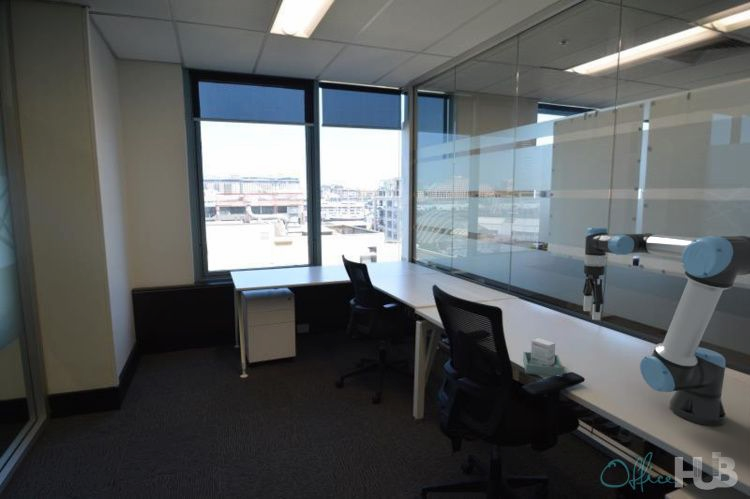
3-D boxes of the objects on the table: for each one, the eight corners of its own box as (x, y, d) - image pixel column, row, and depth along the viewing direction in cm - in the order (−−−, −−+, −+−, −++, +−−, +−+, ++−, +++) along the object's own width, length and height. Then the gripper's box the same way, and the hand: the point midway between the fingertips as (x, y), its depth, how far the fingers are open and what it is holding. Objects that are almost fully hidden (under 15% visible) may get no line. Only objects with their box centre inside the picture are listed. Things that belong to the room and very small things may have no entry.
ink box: (554, 369, 176) (556, 343, 174) (548, 372, 173) (550, 345, 171) (536, 362, 182) (537, 337, 181) (529, 365, 179) (531, 339, 178)
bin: (562, 377, 169) (563, 368, 169) (525, 373, 173) (526, 364, 173) (557, 363, 183) (557, 355, 183) (523, 360, 187) (523, 351, 186)
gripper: (614, 270, 156) (611, 324, 159) (595, 260, 180) (592, 308, 183) (593, 269, 158) (589, 323, 161) (577, 260, 182) (574, 307, 185)
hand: (591, 315), depth 172 cm, fingers open, 13 cm apart
